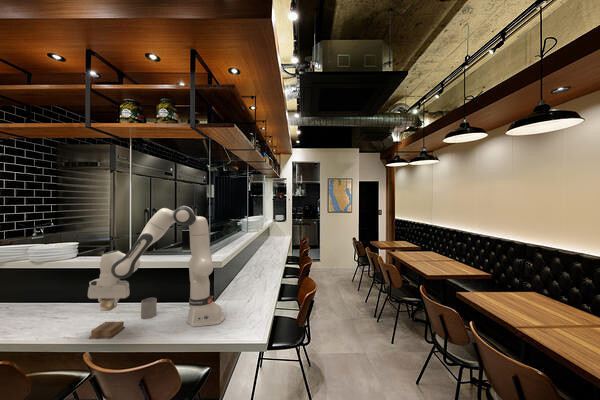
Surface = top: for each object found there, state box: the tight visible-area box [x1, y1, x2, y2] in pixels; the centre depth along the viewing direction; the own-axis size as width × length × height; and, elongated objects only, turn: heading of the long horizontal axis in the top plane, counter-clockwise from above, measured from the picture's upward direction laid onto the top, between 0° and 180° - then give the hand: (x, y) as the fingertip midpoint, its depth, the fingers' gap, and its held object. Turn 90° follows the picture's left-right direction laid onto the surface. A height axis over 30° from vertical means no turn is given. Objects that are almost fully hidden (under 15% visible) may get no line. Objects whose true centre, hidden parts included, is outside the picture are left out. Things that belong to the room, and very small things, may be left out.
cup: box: [140, 297, 158, 320], centre depth 155 cm, size 8×8×10 cm
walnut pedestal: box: [88, 320, 126, 340], centre depth 133 cm, size 11×11×4 cm
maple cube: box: [99, 298, 117, 312], centre depth 134 cm, size 5×5×5 cm
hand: (108, 305), depth 134 cm, fingers closed on maple cube, 5 cm apart
